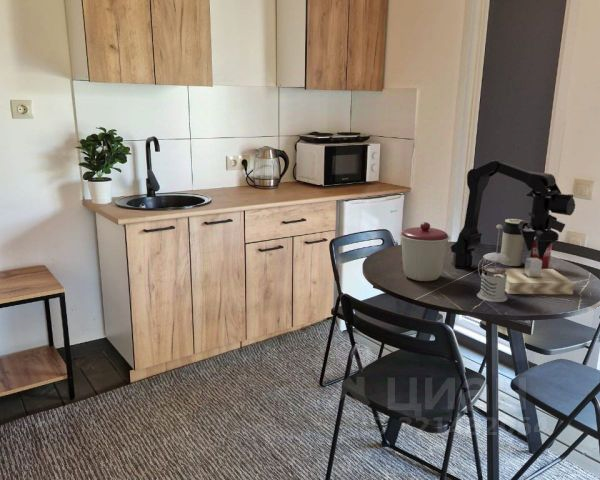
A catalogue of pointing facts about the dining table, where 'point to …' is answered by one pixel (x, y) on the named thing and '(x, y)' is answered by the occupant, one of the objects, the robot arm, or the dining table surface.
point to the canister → (423, 252)
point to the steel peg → (533, 268)
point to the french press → (493, 277)
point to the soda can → (545, 258)
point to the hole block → (537, 283)
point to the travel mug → (512, 242)
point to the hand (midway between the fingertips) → (534, 254)
